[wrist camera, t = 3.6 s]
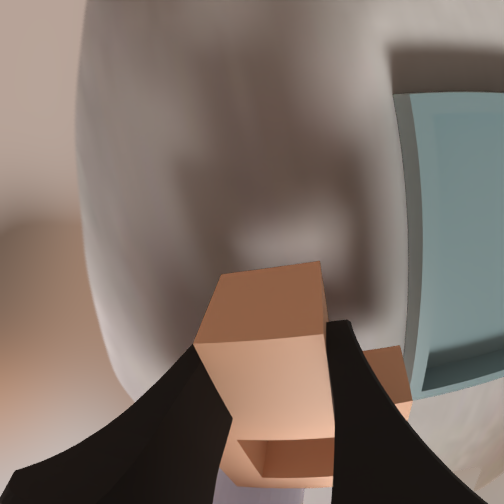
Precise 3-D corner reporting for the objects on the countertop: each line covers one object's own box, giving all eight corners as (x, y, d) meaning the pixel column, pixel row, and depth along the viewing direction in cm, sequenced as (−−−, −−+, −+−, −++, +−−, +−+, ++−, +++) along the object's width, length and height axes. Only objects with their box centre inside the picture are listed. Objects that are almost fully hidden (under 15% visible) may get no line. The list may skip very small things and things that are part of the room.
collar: (385, 441, 14) (389, 488, 11) (244, 449, 16) (235, 493, 13) (403, 248, 8) (435, 316, 6) (152, 282, 10) (112, 344, 8)
